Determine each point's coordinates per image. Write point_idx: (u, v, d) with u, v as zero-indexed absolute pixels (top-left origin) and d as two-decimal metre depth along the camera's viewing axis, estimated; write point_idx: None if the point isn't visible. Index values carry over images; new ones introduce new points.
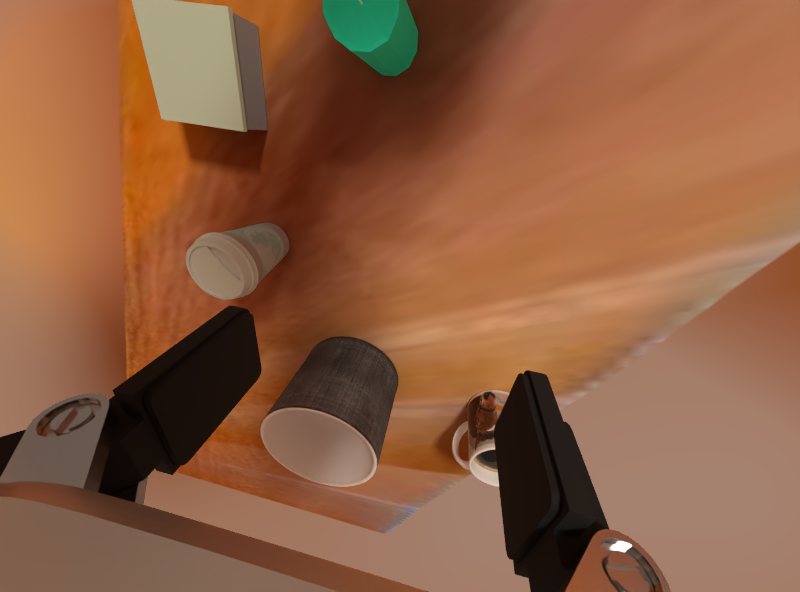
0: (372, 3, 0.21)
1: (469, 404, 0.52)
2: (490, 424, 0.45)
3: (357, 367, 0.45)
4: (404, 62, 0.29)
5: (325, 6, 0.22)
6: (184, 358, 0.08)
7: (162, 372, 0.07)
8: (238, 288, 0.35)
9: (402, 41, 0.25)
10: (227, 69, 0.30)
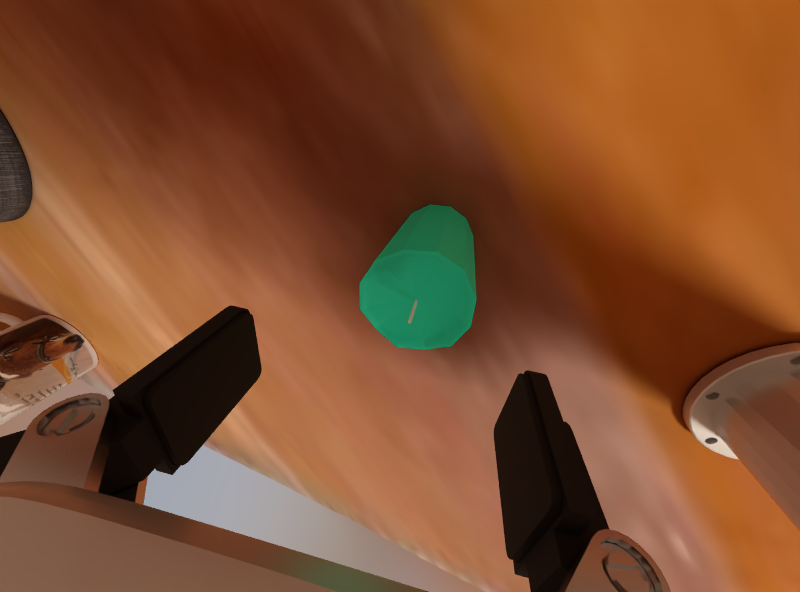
0: (415, 314, 0.15)
1: (47, 320, 0.38)
2: (14, 370, 0.34)
3: None
4: None
5: (411, 255, 0.13)
6: (184, 358, 0.08)
7: (162, 373, 0.07)
8: None
9: None
10: None
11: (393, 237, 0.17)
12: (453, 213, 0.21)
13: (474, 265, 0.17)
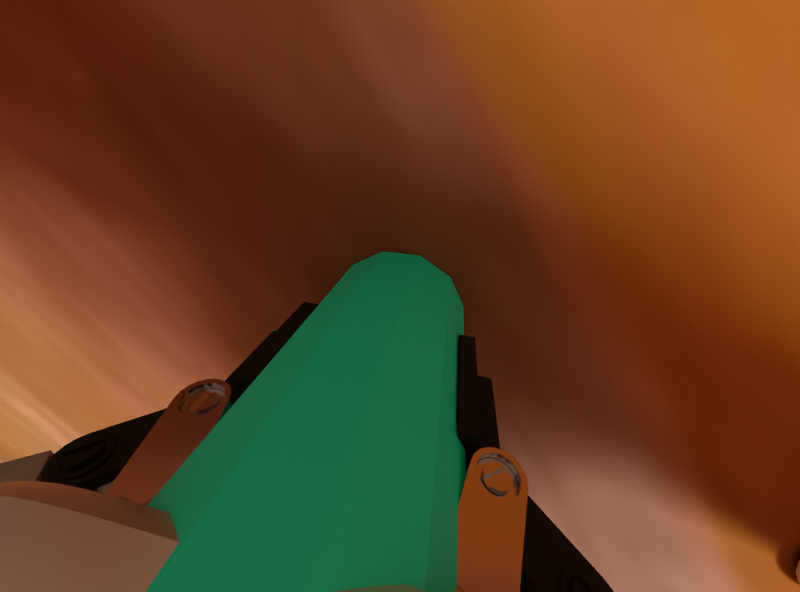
0: None
1: None
2: None
3: None
4: None
5: None
6: None
7: (269, 361, 0.08)
8: None
9: None
10: None
11: (261, 374, 0.07)
12: (423, 275, 0.11)
13: None
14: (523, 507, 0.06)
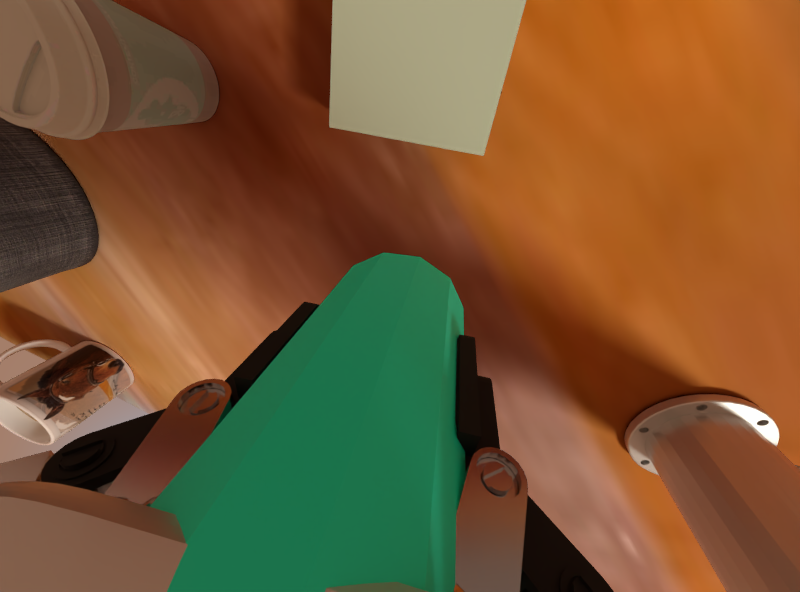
0: None
1: (93, 346, 0.44)
2: (71, 393, 0.39)
3: (29, 249, 0.29)
4: None
5: None
6: None
7: (269, 361, 0.08)
8: None
9: None
10: (412, 125, 0.18)
11: (261, 375, 0.07)
12: (423, 276, 0.11)
13: None
14: (524, 506, 0.06)
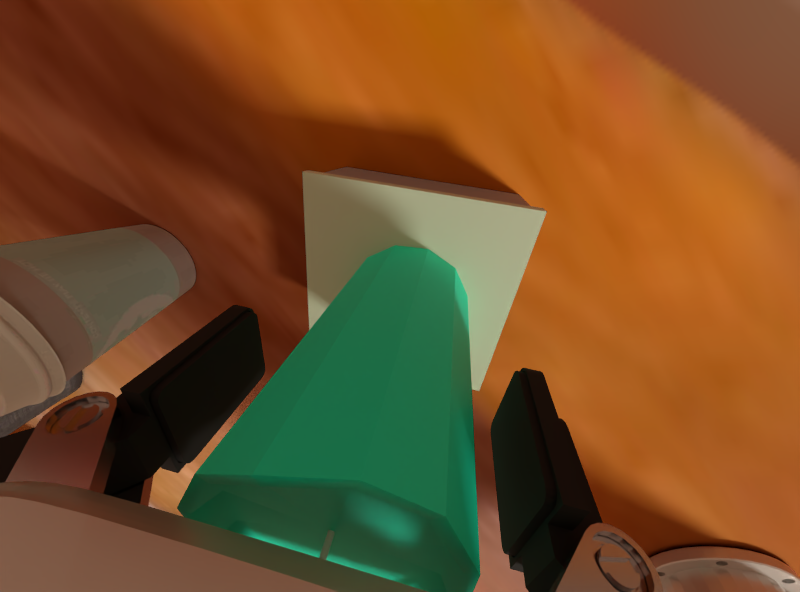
0: (334, 549, 0.06)
1: None
2: None
3: (6, 415, 0.27)
4: None
5: (284, 485, 0.04)
6: (190, 357, 0.08)
7: (168, 371, 0.07)
8: None
9: None
10: None
11: (300, 342, 0.08)
12: (432, 265, 0.12)
13: (470, 391, 0.08)
14: None
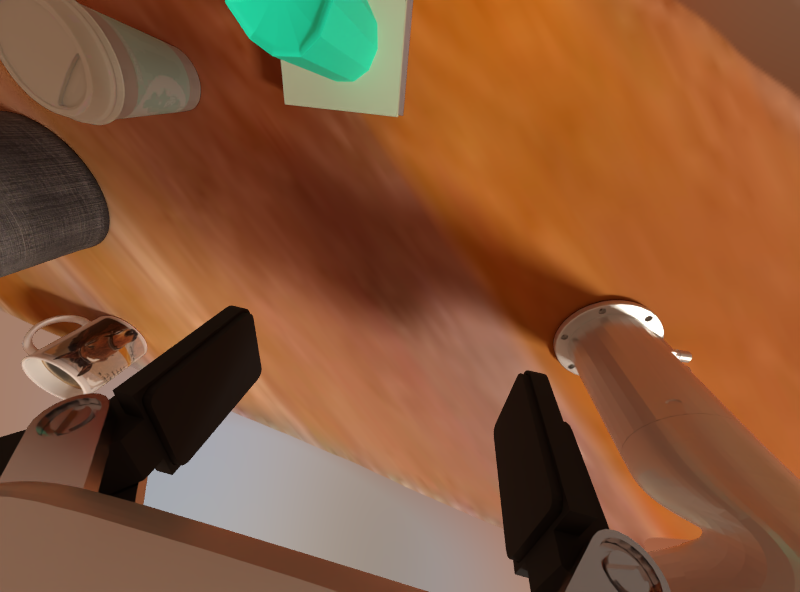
0: (282, 6, 0.15)
1: (109, 319, 0.51)
2: (96, 355, 0.46)
3: (57, 226, 0.35)
4: None
5: None
6: (184, 358, 0.08)
7: (162, 372, 0.07)
8: (42, 97, 0.22)
9: None
10: (343, 97, 0.25)
11: None
12: None
13: None
14: None
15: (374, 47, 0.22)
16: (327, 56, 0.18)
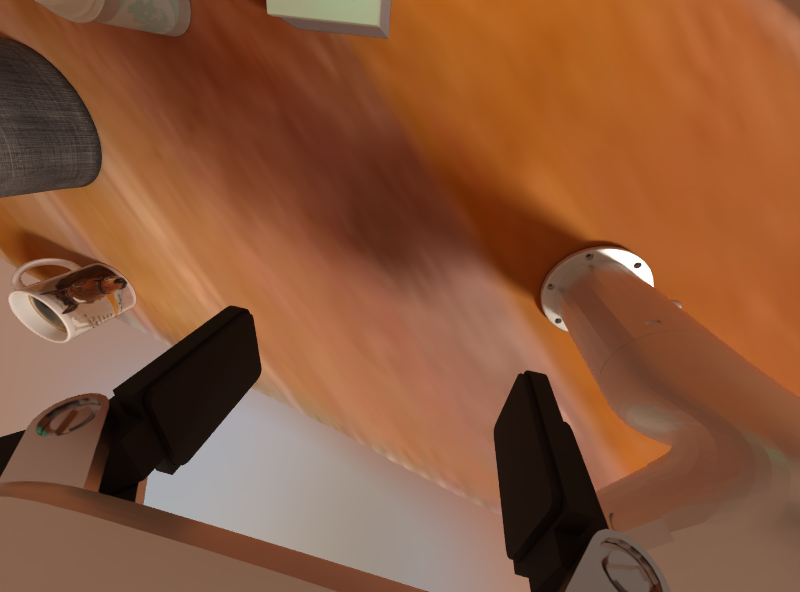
0: None
1: (100, 266, 0.51)
2: (83, 297, 0.47)
3: (47, 151, 0.36)
4: None
5: None
6: (184, 358, 0.08)
7: (162, 372, 0.07)
8: None
9: None
10: (325, 5, 0.25)
11: None
12: None
13: None
14: None
15: None
16: None
